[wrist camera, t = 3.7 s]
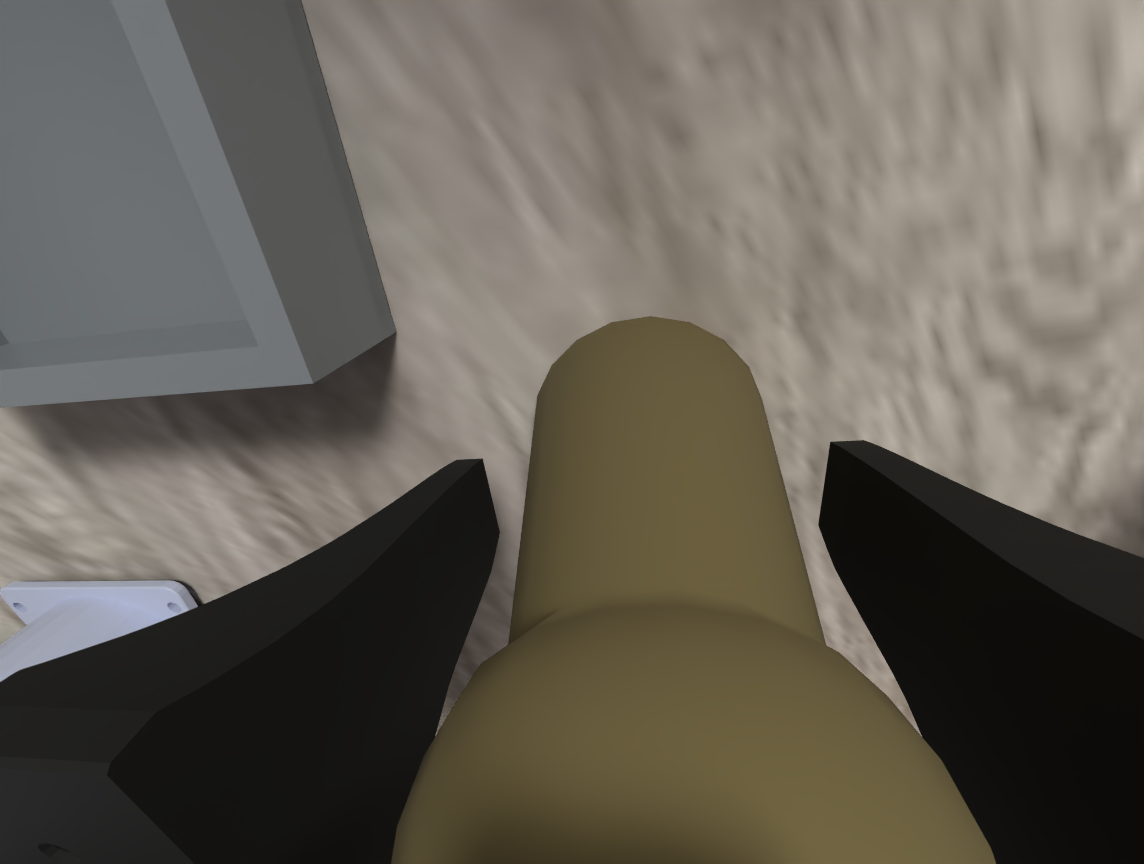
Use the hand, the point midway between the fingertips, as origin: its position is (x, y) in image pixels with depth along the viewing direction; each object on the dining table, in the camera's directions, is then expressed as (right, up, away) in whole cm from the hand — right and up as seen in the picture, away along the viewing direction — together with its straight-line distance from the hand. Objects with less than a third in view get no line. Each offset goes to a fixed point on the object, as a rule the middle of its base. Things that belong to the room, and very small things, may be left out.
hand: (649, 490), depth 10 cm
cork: (0, +1, +3) cm, 3 cm away
